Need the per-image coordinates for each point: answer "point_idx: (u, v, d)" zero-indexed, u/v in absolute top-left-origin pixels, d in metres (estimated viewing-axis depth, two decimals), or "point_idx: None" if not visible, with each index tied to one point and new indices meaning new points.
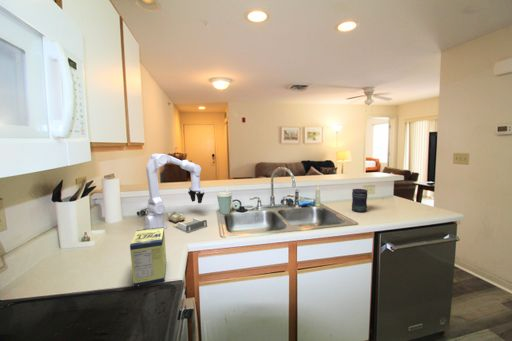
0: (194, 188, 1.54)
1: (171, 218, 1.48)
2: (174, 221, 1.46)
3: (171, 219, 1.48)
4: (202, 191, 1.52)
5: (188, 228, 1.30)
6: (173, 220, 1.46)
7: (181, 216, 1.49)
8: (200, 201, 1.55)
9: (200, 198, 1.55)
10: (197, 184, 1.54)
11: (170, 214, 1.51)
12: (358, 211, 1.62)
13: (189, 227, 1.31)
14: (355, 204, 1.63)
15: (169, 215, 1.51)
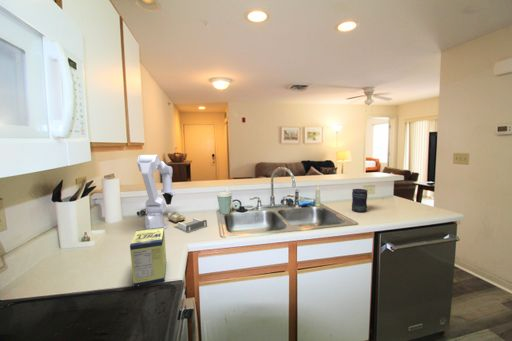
0: (165, 190, 1.52)
1: (171, 218, 1.48)
2: (174, 221, 1.46)
3: (171, 219, 1.48)
4: (173, 193, 1.50)
5: (188, 228, 1.30)
6: (173, 220, 1.46)
7: (181, 216, 1.49)
8: (169, 202, 1.55)
9: (169, 199, 1.55)
10: (168, 186, 1.52)
11: (170, 214, 1.51)
12: (358, 211, 1.62)
13: (189, 227, 1.31)
14: (355, 204, 1.63)
15: (169, 215, 1.51)
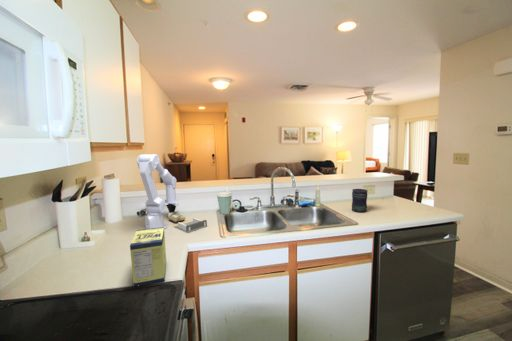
0: (169, 201, 1.50)
1: (171, 218, 1.48)
2: (174, 221, 1.45)
3: (171, 219, 1.48)
4: (177, 204, 1.48)
5: (188, 228, 1.30)
6: (173, 220, 1.46)
7: (181, 216, 1.49)
8: None
9: (172, 210, 1.53)
10: (172, 197, 1.50)
11: (170, 214, 1.51)
12: (358, 211, 1.62)
13: (189, 227, 1.31)
14: (355, 204, 1.63)
15: (169, 215, 1.50)
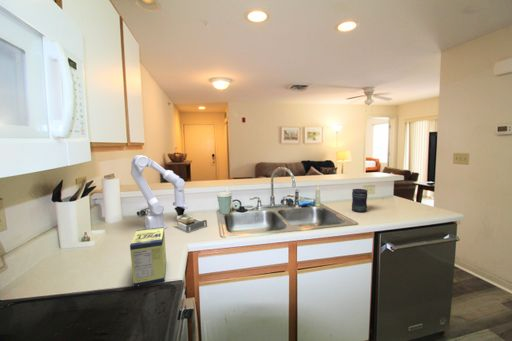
0: (178, 204, 1.43)
1: (180, 221, 1.40)
2: (184, 223, 1.38)
3: (180, 222, 1.40)
4: (186, 207, 1.41)
5: (188, 228, 1.30)
6: (183, 222, 1.39)
7: (191, 218, 1.42)
8: None
9: (181, 213, 1.46)
10: (181, 199, 1.43)
11: (179, 217, 1.44)
12: (358, 211, 1.62)
13: (189, 227, 1.31)
14: (355, 204, 1.63)
15: (178, 218, 1.43)
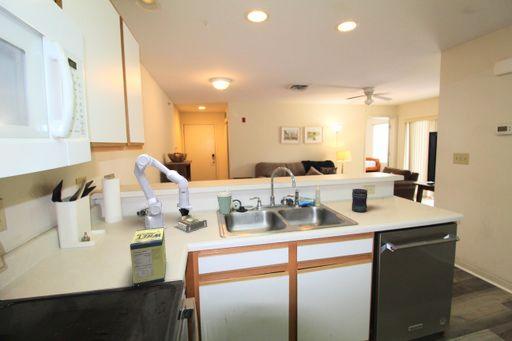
0: (182, 205, 1.39)
1: (185, 222, 1.37)
2: None
3: (185, 223, 1.37)
4: (191, 209, 1.38)
5: (188, 228, 1.30)
6: (188, 224, 1.35)
7: (196, 220, 1.38)
8: None
9: (186, 215, 1.43)
10: (185, 201, 1.40)
11: (184, 218, 1.40)
12: (358, 211, 1.62)
13: (189, 227, 1.31)
14: (355, 204, 1.63)
15: (183, 219, 1.39)
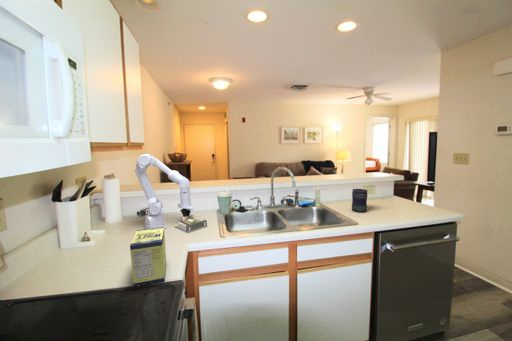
0: (183, 205, 1.38)
1: (186, 223, 1.36)
2: None
3: (186, 224, 1.36)
4: (192, 209, 1.37)
5: (188, 228, 1.30)
6: None
7: (197, 220, 1.37)
8: None
9: (187, 215, 1.42)
10: (187, 201, 1.39)
11: (185, 218, 1.39)
12: (358, 211, 1.62)
13: (189, 227, 1.31)
14: (355, 204, 1.63)
15: (184, 219, 1.39)
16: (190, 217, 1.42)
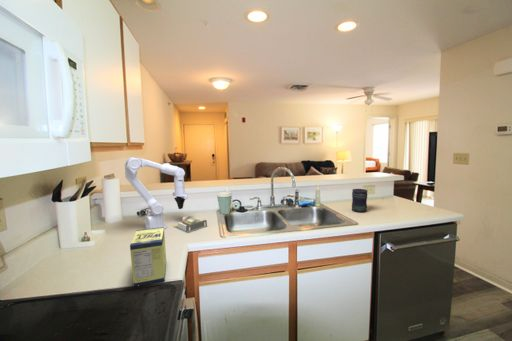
0: (177, 193, 1.41)
1: (186, 223, 1.36)
2: None
3: (186, 224, 1.36)
4: (186, 197, 1.39)
5: (188, 228, 1.30)
6: None
7: (197, 220, 1.37)
8: (181, 206, 1.45)
9: (181, 203, 1.45)
10: (181, 189, 1.42)
11: (185, 218, 1.39)
12: (358, 211, 1.62)
13: (189, 227, 1.31)
14: (355, 204, 1.63)
15: (184, 219, 1.39)
16: (190, 217, 1.42)
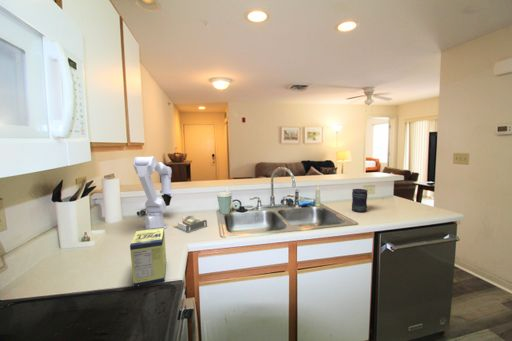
0: (164, 191, 1.49)
1: (186, 223, 1.36)
2: None
3: (186, 224, 1.36)
4: (172, 194, 1.47)
5: (188, 228, 1.30)
6: None
7: (197, 220, 1.37)
8: (168, 203, 1.52)
9: (168, 200, 1.52)
10: (167, 187, 1.49)
11: (185, 218, 1.39)
12: (358, 211, 1.62)
13: (189, 227, 1.31)
14: (355, 204, 1.63)
15: (184, 219, 1.39)
16: (190, 217, 1.42)
